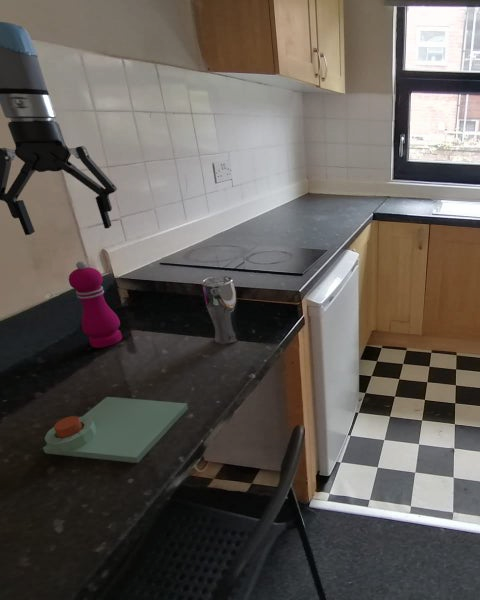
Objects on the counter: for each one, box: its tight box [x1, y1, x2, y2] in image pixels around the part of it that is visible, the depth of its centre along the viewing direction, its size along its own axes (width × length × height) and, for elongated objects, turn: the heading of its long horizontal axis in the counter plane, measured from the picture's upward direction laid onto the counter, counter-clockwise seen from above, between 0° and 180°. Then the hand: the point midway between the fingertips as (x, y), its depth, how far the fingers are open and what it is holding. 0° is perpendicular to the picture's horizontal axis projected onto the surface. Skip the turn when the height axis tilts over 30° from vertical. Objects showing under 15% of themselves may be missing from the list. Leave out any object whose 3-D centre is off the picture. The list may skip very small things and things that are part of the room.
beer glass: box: [201, 275, 243, 345], centre depth 94 cm, size 7×7×15 cm
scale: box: [42, 396, 189, 464], centre depth 68 cm, size 16×14×3 cm
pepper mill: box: [68, 260, 123, 349], centre depth 92 cm, size 7×7×20 cm
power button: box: [53, 415, 82, 438], centre depth 64 cm, size 3×3×2 cm
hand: (70, 230), depth 85 cm, fingers open, 13 cm apart
